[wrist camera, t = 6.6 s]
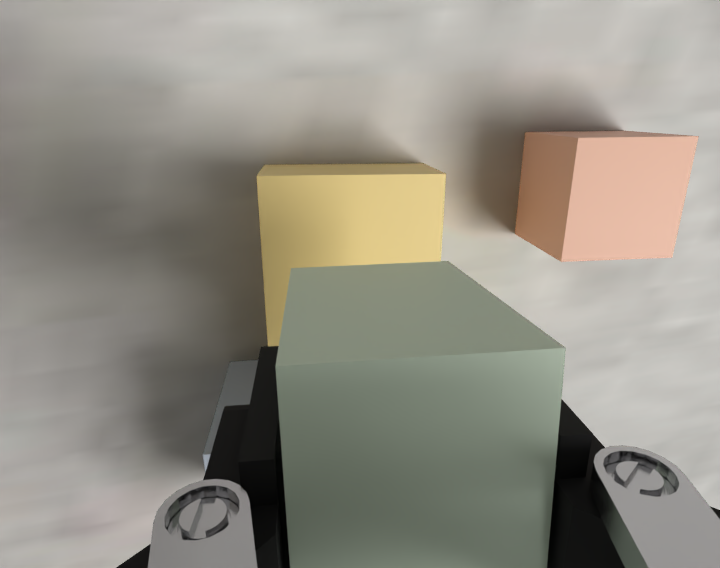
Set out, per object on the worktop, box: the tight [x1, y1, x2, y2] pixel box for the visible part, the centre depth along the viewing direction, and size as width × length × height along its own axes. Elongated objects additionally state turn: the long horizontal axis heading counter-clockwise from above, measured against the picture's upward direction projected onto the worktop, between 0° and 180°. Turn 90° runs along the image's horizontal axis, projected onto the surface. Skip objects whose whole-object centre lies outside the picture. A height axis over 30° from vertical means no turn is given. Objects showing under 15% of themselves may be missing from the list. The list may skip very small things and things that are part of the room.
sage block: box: [275, 261, 566, 568], centre depth 10 cm, size 6×4×6 cm, turn 1°
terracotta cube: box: [515, 131, 699, 262], centre depth 18 cm, size 4×4×4 cm
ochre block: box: [257, 163, 446, 346], centre depth 19 cm, size 8×6×4 cm
